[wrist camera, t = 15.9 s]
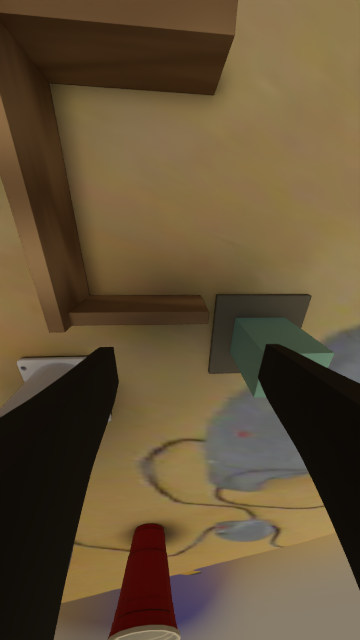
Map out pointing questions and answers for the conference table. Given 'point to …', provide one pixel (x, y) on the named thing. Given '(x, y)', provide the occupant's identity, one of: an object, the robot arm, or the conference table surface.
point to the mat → (248, 307)
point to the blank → (262, 331)
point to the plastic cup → (146, 591)
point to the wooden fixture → (43, 138)
